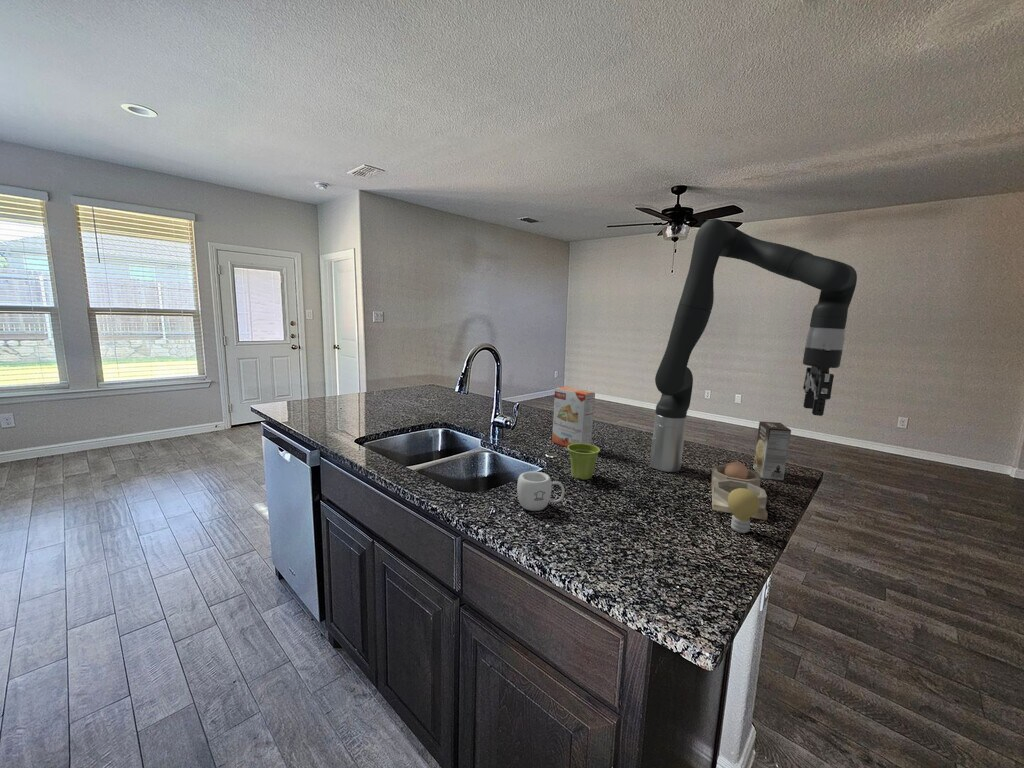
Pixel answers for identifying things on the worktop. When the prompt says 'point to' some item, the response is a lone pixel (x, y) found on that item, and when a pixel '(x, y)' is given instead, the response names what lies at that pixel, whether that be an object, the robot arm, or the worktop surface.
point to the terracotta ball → (736, 470)
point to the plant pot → (582, 460)
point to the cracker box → (573, 416)
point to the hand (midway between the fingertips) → (812, 411)
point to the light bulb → (742, 508)
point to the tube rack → (726, 484)
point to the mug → (536, 490)
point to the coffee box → (771, 450)
